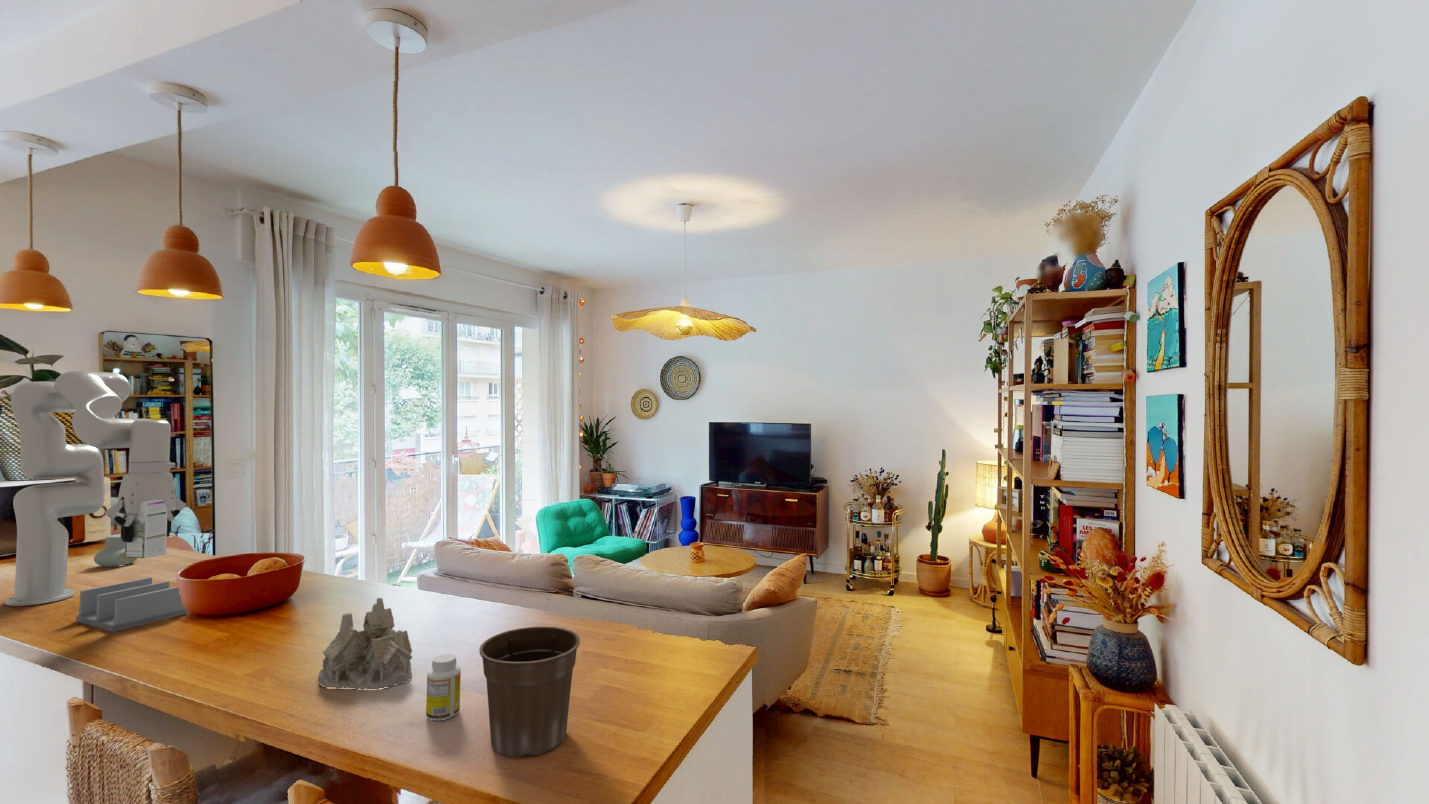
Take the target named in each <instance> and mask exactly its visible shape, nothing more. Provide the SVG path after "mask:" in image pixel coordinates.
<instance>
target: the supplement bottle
mask: <svg viewBox="0 0 1429 804" xmlns="http://www.w3.org/2000/svg"><path fill="white" fill-rule="evenodd" d="M461 671H462V670H461V667H460V665H458V663H457V655H456V654H454V653H442V654H438V655H436V656H435V657H433V658H432V663H431V668H430V669H428V670H427V673H426V701H425V702H426V706H425V708H426V709H425V716H426V718H427V719H428V720H429V719H432V720H443V719H448V720H450V719H449V718H451V717H453V716H454V717H455V715H456V714H457V713H458V714H459V712H460V708H461V673H462V672H461ZM458 714H457V715H458ZM457 715H456V716H457ZM454 717H453V718H454ZM451 719H452V718H451ZM432 720H431V721H432Z"/></svg>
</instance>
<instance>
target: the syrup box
mask: <svg viewBox="0 0 1429 804" xmlns="http://www.w3.org/2000/svg"><path fill="white" fill-rule="evenodd" d="M167 511H168V510H167V508H166V506H165V503H164V501H163V500H160V499H152V500H147V501H143V502H141V508H140V514H138V515H136V517H135V518H134V520H133V521H132V523H131V526H133V541H132V542H129V543H128V542H125V557H126V558H138V559H149V558H155V557H158V556H163V555H166V554H167V542H168V541H167V538H168V537H167Z"/></svg>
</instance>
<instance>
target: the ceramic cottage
mask: <svg viewBox="0 0 1429 804" xmlns="http://www.w3.org/2000/svg"><path fill="white" fill-rule="evenodd" d="M341 616H342V617H341V623H340V627H339V631H338V632H337V635H336V636H335V637H334V639H333V640H331V642H330V643H329V645H328V646H327V647H326V649H324V650H323V651H322V654H323V655H324V656H325V657H324V659H323V660H322V665H321V666H322V669H320V671H319V673H318V677H317V680H318V682H319V684H322V685H323V686H325V687H334V688H335V687H336V688H343V687H344V688H347V687H348V688H355V689H359V688H360V689H365V688H366V689H379V688H384V687H390V686H393V685H394V684H397V685H398V684H400V683H402V684H403V682H406V681H408V680H409V679H411V680H412V678H411V677H413V671H412V672H411V670H412V662H411V660H412V659H413V656H412V655H411V654H412V653H413V649H412V645H411V641H410V639H409V634H408V631H407V630H400V629H399V630H397V631H396V630H395V629H393V628H395V622H394V621H395V620H394V616H393V612H392V609H391V607H389V608H385V604H384V601H383V598H382V597H376V603H373V605H372V607H371V611H366V612H365V616H364V620H363V624H362V626H363V630H360V631H358V630H357V629H355V627H354V622H353V613H351V612H347V613H343V614H342V615H341ZM408 682H409V681H408ZM406 683H407V682H406ZM400 685H401V684H400ZM393 687H394V686H393ZM390 688H391V687H390Z"/></svg>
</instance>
